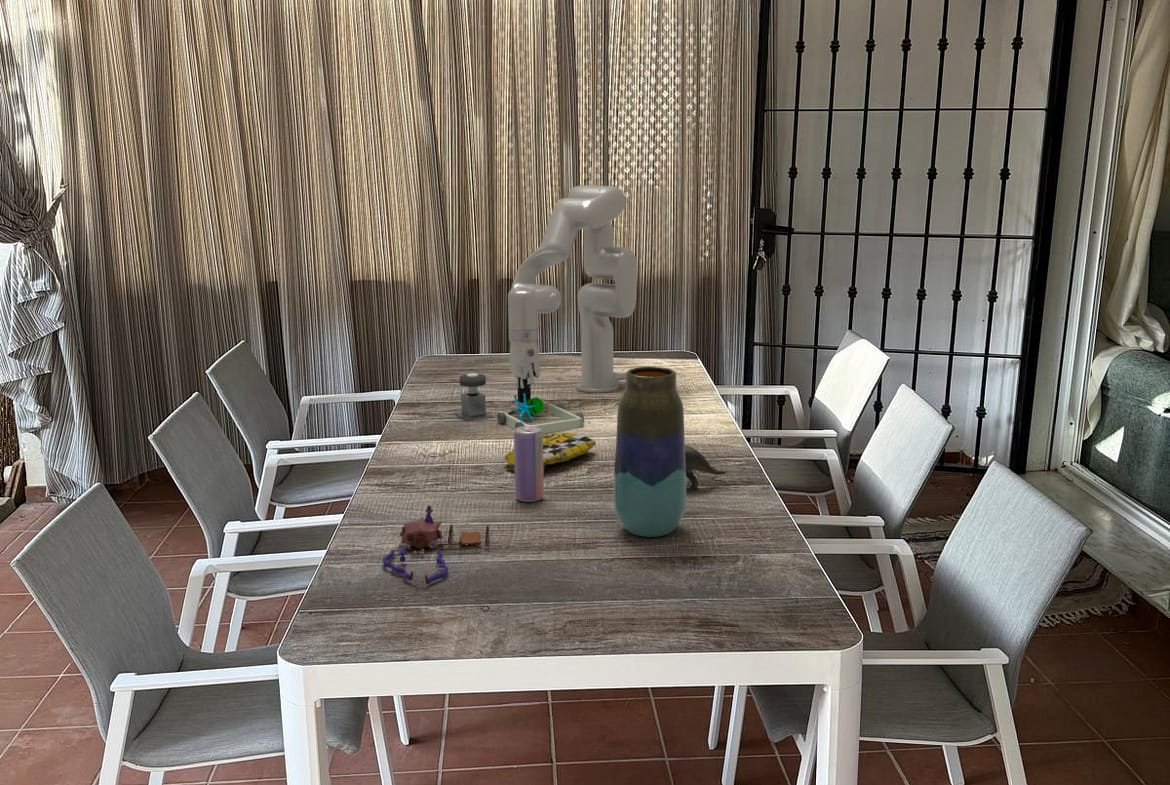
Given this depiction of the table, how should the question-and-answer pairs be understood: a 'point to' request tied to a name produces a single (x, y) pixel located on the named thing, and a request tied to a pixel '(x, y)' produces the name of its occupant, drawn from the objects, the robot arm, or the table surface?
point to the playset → (429, 544)
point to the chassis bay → (568, 423)
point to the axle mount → (473, 407)
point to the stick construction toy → (528, 407)
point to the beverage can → (528, 463)
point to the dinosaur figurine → (697, 465)
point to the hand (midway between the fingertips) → (524, 401)
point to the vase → (650, 453)
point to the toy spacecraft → (559, 448)
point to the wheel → (472, 381)
